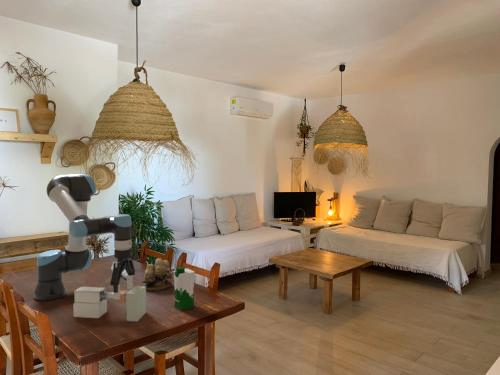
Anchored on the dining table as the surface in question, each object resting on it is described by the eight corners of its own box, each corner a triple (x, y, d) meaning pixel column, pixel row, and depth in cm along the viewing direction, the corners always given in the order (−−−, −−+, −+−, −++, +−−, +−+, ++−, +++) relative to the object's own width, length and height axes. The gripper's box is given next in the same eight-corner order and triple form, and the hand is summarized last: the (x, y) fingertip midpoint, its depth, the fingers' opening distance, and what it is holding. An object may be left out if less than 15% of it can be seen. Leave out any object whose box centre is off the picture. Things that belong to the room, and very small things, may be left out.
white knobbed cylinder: (125, 274, 226) (110, 260, 245) (124, 285, 228) (109, 270, 246) (133, 273, 230) (118, 259, 248) (133, 283, 231) (117, 268, 250)
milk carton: (172, 306, 187) (171, 266, 186) (188, 302, 193) (187, 263, 191) (180, 312, 180) (180, 270, 179) (197, 307, 186) (196, 267, 184)
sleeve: (73, 316, 174) (73, 291, 173) (83, 310, 182) (82, 285, 181) (98, 318, 173) (97, 292, 172) (107, 311, 181) (106, 286, 180)
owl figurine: (167, 281, 225) (167, 253, 224) (177, 287, 216) (177, 257, 215) (138, 288, 214) (138, 258, 212) (148, 294, 205) (147, 262, 203)
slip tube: (96, 301, 174) (95, 292, 174) (100, 298, 179) (100, 289, 178) (135, 304, 172) (135, 294, 172) (139, 300, 176) (139, 291, 176)
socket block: (126, 320, 170) (126, 293, 169) (136, 311, 180) (135, 286, 179) (137, 321, 169) (137, 293, 169) (146, 312, 179) (145, 286, 178)
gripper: (118, 255, 160) (118, 304, 162) (141, 242, 185) (142, 285, 187) (101, 255, 161) (102, 303, 163) (127, 242, 186) (127, 284, 188)
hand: (123, 293), depth 175 cm, fingers open, 13 cm apart
